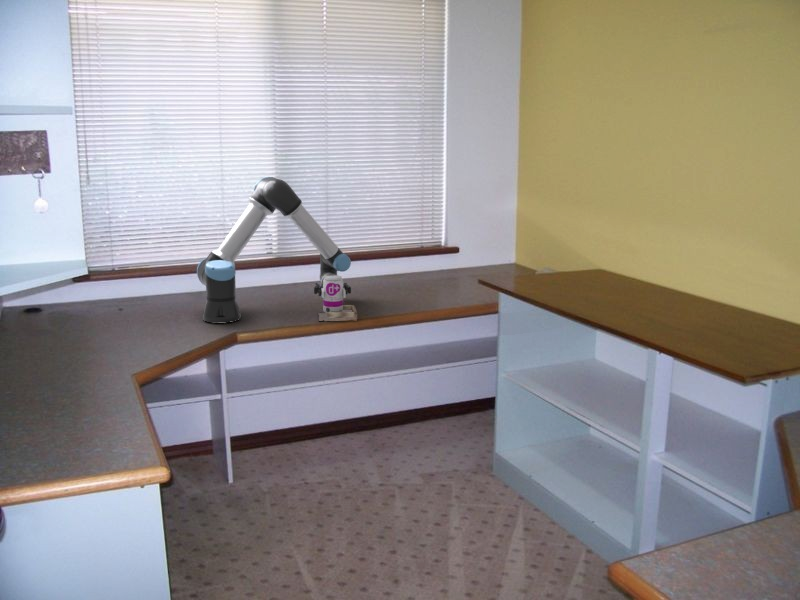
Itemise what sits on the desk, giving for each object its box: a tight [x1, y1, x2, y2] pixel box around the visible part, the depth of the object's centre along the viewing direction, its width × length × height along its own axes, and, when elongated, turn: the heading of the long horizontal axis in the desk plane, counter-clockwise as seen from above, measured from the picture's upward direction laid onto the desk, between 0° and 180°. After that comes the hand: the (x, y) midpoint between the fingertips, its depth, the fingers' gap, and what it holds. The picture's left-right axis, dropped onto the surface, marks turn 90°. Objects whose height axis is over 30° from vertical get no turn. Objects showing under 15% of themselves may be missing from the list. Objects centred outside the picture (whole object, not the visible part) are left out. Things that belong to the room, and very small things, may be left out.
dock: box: [327, 304, 358, 318], centre depth 315 cm, size 16×15×3 cm
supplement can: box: [322, 274, 344, 313], centre depth 313 cm, size 8×8×15 cm
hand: (333, 294), depth 308 cm, fingers closed on supplement can, 8 cm apart
